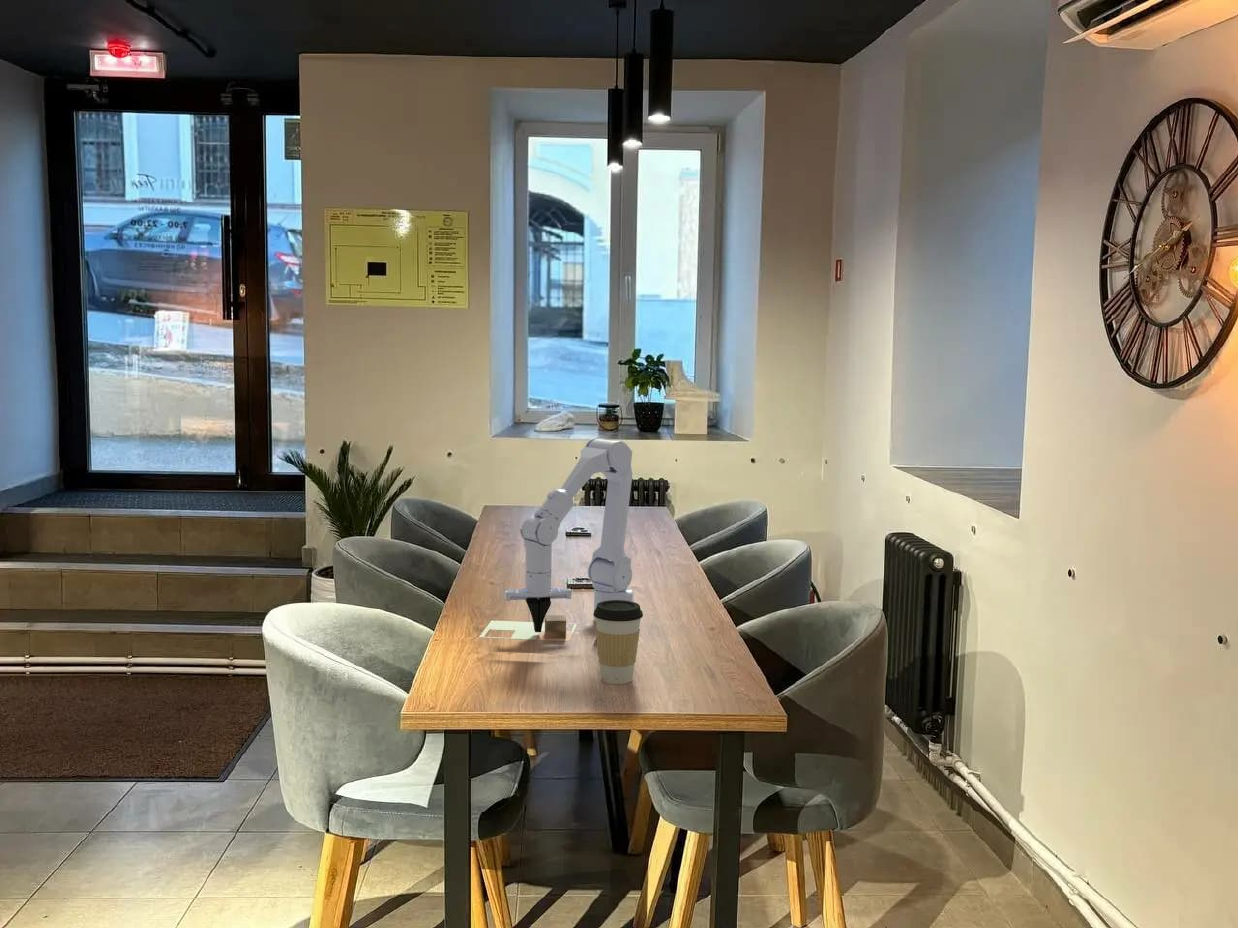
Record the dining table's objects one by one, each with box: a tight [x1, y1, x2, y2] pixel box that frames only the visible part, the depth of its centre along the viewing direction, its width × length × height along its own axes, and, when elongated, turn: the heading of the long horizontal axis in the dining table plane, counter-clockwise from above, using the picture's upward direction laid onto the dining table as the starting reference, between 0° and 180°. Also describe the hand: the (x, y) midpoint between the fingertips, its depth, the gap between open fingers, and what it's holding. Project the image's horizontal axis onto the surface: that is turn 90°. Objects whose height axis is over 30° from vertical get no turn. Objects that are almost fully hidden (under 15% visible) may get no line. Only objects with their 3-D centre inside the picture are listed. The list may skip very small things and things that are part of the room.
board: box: [478, 620, 578, 642], centre depth 238 cm, size 20×14×2 cm
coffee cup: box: [593, 600, 644, 685], centre depth 209 cm, size 10×10×15 cm
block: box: [544, 614, 567, 639], centre depth 234 cm, size 4×4×4 cm
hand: (537, 631), depth 234 cm, fingers closed
